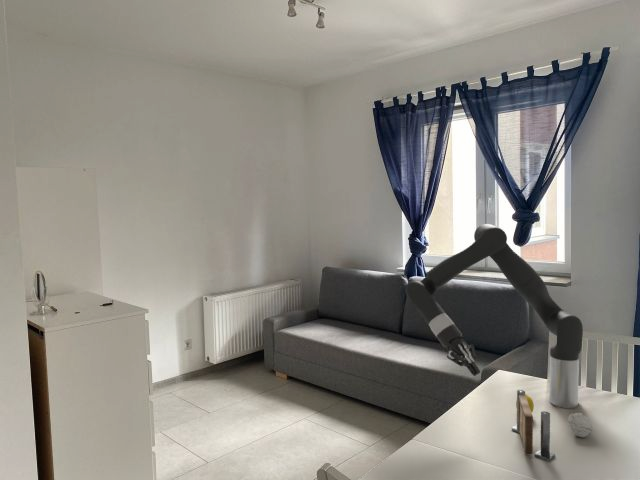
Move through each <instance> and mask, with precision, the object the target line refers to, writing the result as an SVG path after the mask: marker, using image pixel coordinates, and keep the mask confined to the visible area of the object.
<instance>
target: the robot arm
mask: <svg viewBox="0 0 640 480" xmlns="http://www.w3.org/2000/svg"><path fill="white" fill-rule="evenodd" d="M473 237H474V239H473V240H474V242H473V243H472V244H471V245H469V246H468V247H467V248H465V249H463V250H461V251H460V252H458V253H455V254H453V255H451V256H448V257H447V258H446V259H444V260H442V261H441V262H439V263H437V264H436V265H435V266H434V267H432V268H431V269H430V270H428V271H427V274H426V276H425V277H424V278H423V279H421V280H420V281H419V280H415V279H414V280H411V281H409V282H408V283H407V284H406V285H405V290H404V291H405V294H406V296H407V298H408V299H409V301H410V302H411V303H412V304H413V305H414V307H415V308H416V309H417V310H418V312H419V313H420V314H421V316H422V318H423V319H424V321H425V322H426V324H427V325H428V326H429V328H430V330H431V332H432V333H433V335H435V337H436V339H437V340H438V342H439V343H440V344H441V345H442V347H443V348H446V349H447V351H448V354H447V355H446V357H447V359H448V360H450V361H451V362H454V363H455V365H456V364H457V365H458V366H460V367H463V366H464V367H466V368H467V369H468V371H469V372H470V374H471V375H472V376H474V377H475V376H478V375H479V374H480V373H481V370H480V369H479V367H478V365H477V364H476V363H475V359H477V356H476V355H477V354H476V350H475V349H476V348H475V346H474V344H473V343H471V344H468V343H467V342H466V340H464V339H463V338H462V336H463V333H462V332H461V331H460V329H459V328H458V327H457V326H456V324H455V322H454V321H453V320H452V319H451V318H450V316H448V314H447V313H446V311H444V309H443V308H442V307H441V305H440V304H439V303H438V302H437V301H436V300H435V299H434V298H433V295H434V294H435V293H436V292H438V291H439V289H440V288H441V287H444V286H445V285H446V284H448V283H449V282H450V281H451V280H453V279H454V278H455V277H457V276H458V275H460V274H461V273H462V272H464V271H465V270H468V269H469V268H471V267H472V266H474V265H475V264H477V263H479V262H480V261H482V260H484V259H486V258H488V257H489V258H491V259H492V260H493V262H494V263H495V264H496V265H497V267H498V268H499V270H500V271H501V273H502V274H503V275H504V277H505V278H506V279H507V281H509V283H510V285H511V286H512V287H513V288H514V289H515V290H516V292H517V293H518V294H519V295H520V296H521V297H522V298H523V300H525V302H527V304H528V305H530V307H531V308H532V309H533V310H534V311H535V312H536V314H537V315H538V316H539V318H540V319H541V321H542V322H543V323H544V325H545V327H546V328H547V329H548V331H549V332H550V333H551V334H552V335H554V336H556V339H555V340H556V341H555V342H556V343H555V345H552V346H551V347H550V350H549V396H548V397H549V402H550V404H551V405H554V406H556V407H559V408H564V409H574V408H577V407H578V406H579V375H580V374H579V370H580V369H579V367H580V362H579V361H580V353H581V351H582V347H583V337H584V331H583V330H584V327H583V323H582V320H581V319H580V317H578V316H576V315H574V314H572V313H569V312H567V311H566V310H564V309H562V307H560V306H559V305H558V304H557V303H556V302H555V301H554V299H553V298H552V296H551V295H550V293H549V290H548V288H547V285H546V283H545V282H544V280H543V278H542V277H541V276H540V275H539V274H538V273H537V271H536V270H535V269H534V268H533V267H532V266H531V265H530V264H529V263H528V262H527V261H526V260H525V259H524V258H523V257H521V256H520V255H518V253H517V252H515V251H514V250H513V249H512V248H511V247H510V245H509V244H508V243H507V241H508V236H507V234H506V232H505V230H504V229H502V228H500V227H498V226H497V225H494V224H490V223H484V224H481V225H479V226H478V227H477V228H476V229H475V230H474V235H473Z"/></svg>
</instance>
